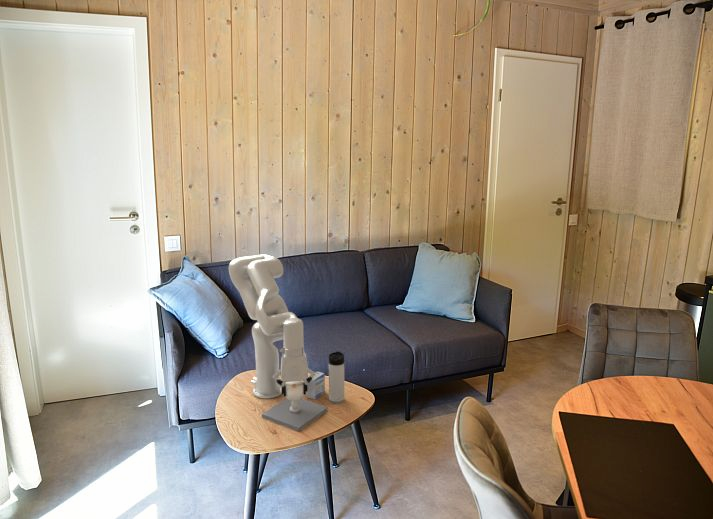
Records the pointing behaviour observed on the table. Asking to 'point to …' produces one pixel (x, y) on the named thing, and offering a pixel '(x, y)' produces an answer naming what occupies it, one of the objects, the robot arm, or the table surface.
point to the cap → (294, 390)
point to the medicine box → (316, 386)
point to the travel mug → (336, 377)
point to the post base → (294, 413)
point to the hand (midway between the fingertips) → (294, 393)
